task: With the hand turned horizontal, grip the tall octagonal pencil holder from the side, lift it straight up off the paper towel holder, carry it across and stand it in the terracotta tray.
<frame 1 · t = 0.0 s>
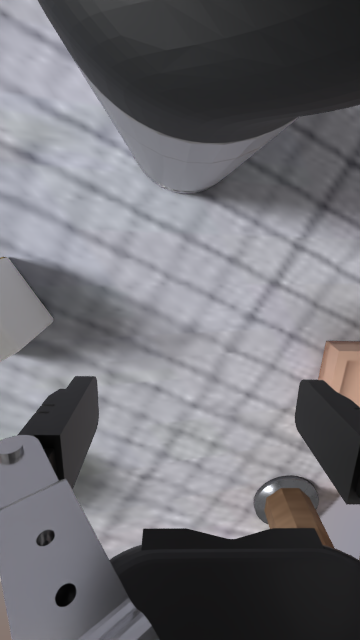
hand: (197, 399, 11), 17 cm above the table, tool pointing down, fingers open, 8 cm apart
octagonal pencil holder: (286, 504, 36), point 1 cm above the table, touching paper towel holder
medicine bottle: (4, 305, 28), on the table
paper towel holder: (284, 499, 37), on the table
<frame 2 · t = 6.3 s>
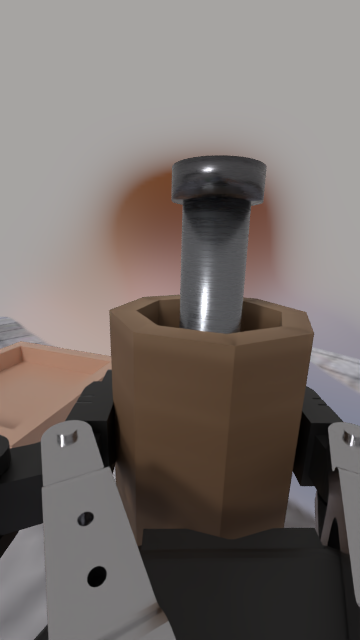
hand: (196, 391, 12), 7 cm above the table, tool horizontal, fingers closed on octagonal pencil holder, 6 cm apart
octagonal pencil holder: (196, 563, 11), point 1 cm above the table, touching gripper, paper towel holder
tray: (21, 404, 22), on the table
paper towel holder: (195, 575, 11), on the table
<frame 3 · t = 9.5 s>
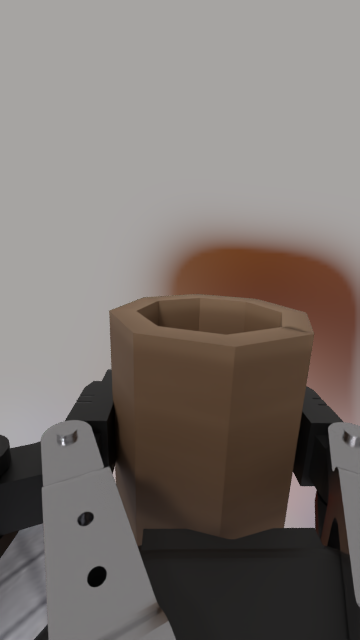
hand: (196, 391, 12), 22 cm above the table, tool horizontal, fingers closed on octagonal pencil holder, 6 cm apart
octagonal pencil holder: (196, 564, 11), point 16 cm above the table, touching gripper
when the fingers open (8 cm above the table, at t = 12.7 s): octagonal pencil holder drops 1 cm, resting on tray.
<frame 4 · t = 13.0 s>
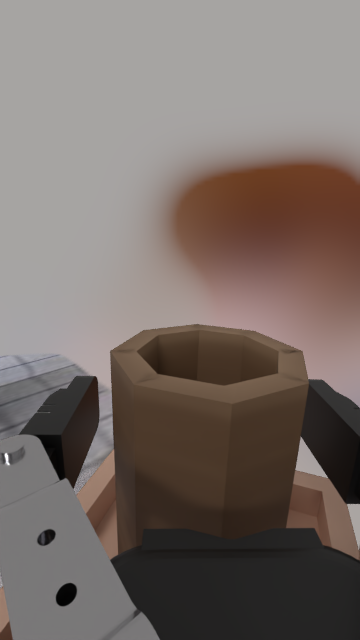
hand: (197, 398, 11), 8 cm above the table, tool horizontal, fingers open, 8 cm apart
octagonal pencil holder: (195, 589, 11), point 1 cm above the table, touching tray
tray: (193, 601, 12), on the table
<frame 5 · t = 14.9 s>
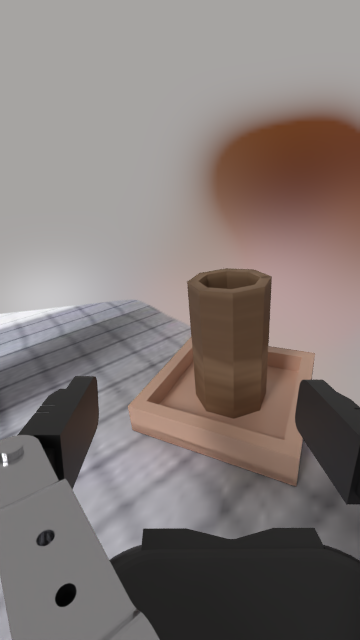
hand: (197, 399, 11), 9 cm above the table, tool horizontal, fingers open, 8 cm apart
octagonal pencil holder: (230, 393, 24), point 1 cm above the table, touching tray
tray: (230, 400, 25), on the table
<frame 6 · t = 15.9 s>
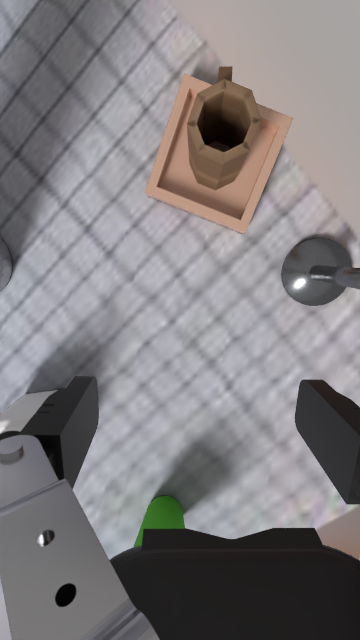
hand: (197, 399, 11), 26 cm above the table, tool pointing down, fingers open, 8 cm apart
cup: (165, 508, 44), on the table
octagonal pencil holder: (215, 162, 32), point 1 cm above the table, touching tray
tray: (214, 163, 33), on the table
medicine bottle: (54, 412, 41), on the table
paper towel holder: (314, 272, 35), on the table
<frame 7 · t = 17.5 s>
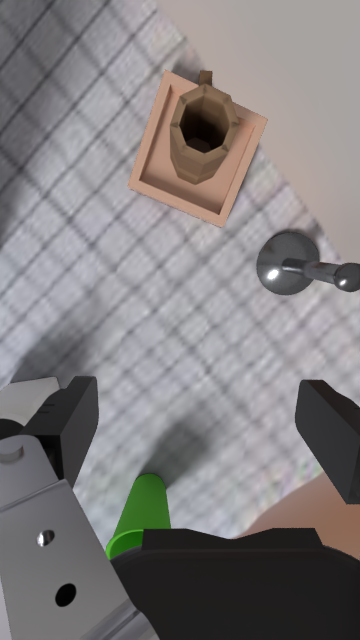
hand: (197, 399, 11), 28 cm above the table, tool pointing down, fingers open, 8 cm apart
cup: (149, 485, 47), on the table
octagonal pencil holder: (195, 158, 34), point 1 cm above the table, touching tray
tray: (194, 159, 34), on the table
medicine bottle: (40, 400, 43), on the table
paper towel holder: (286, 264, 38), on the table
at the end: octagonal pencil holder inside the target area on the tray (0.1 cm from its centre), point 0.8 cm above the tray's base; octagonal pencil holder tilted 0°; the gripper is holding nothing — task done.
